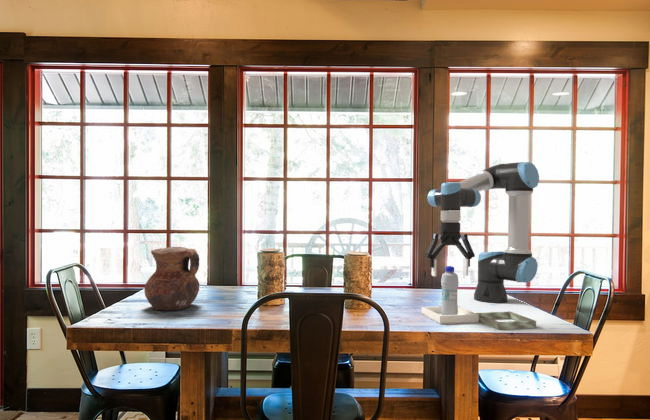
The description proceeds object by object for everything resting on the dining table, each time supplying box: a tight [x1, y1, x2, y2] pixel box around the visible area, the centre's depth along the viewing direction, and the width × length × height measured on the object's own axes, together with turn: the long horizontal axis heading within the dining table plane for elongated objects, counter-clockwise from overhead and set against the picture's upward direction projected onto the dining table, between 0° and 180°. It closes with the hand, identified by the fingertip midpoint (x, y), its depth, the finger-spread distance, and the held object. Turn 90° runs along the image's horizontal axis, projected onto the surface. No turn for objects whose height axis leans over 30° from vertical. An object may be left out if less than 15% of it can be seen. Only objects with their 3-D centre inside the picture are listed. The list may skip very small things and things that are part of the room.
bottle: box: [440, 265, 460, 315], centre depth 179 cm, size 7×7×20 cm
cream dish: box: [421, 305, 480, 325], centre depth 179 cm, size 16×16×3 cm
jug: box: [143, 246, 200, 311], centre depth 193 cm, size 22×21×25 cm
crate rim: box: [475, 310, 537, 331], centre depth 172 cm, size 16×16×2 cm
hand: (449, 275), depth 179 cm, fingers open, 13 cm apart
